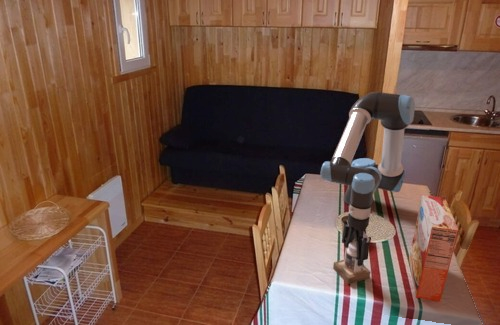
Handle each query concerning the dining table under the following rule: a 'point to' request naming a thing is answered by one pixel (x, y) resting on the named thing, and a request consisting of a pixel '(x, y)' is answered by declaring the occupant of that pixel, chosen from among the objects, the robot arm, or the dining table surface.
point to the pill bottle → (351, 256)
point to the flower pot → (343, 222)
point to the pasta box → (432, 247)
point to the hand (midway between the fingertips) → (352, 265)
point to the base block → (351, 272)
